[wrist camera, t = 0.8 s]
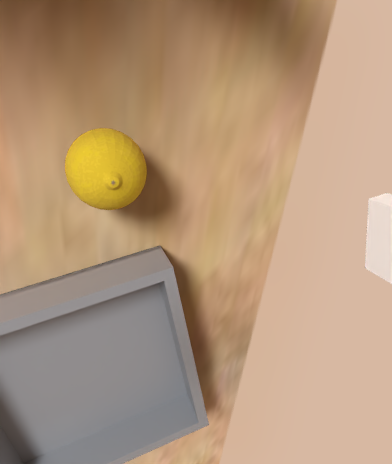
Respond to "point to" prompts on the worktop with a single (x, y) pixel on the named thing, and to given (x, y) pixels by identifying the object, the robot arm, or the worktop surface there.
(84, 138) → the lemon
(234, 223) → the worktop surface
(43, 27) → the worktop surface
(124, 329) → the box
